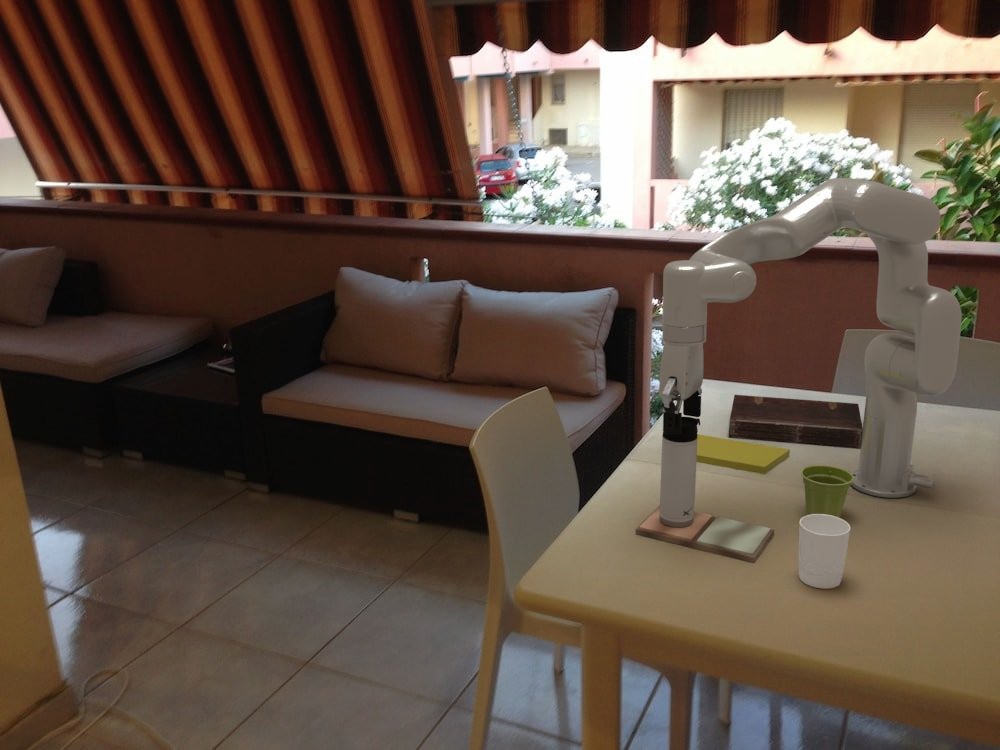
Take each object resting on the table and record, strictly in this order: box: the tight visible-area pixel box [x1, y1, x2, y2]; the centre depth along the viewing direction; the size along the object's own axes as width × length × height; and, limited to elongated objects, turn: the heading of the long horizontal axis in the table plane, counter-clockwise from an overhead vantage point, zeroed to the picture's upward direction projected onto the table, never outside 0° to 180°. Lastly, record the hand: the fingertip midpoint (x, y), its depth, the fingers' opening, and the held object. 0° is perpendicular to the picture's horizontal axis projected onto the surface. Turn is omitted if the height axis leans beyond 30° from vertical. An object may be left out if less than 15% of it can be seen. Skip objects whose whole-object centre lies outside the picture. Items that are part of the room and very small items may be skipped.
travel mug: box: [659, 416, 701, 527], centre depth 170 cm, size 6×7×20 cm
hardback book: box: [728, 394, 863, 450], centre depth 220 cm, size 29×19×5 cm, turn 73°
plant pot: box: [800, 464, 854, 518], centre depth 175 cm, size 9×9×9 cm
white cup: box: [798, 514, 851, 590], centre depth 153 cm, size 8×8×10 cm
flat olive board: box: [696, 433, 791, 475], centre depth 205 cm, size 12×2×24 cm
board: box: [635, 505, 775, 564], centre depth 170 cm, size 22×12×1 cm, turn 59°
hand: (682, 424), depth 167 cm, fingers open, 9 cm apart
